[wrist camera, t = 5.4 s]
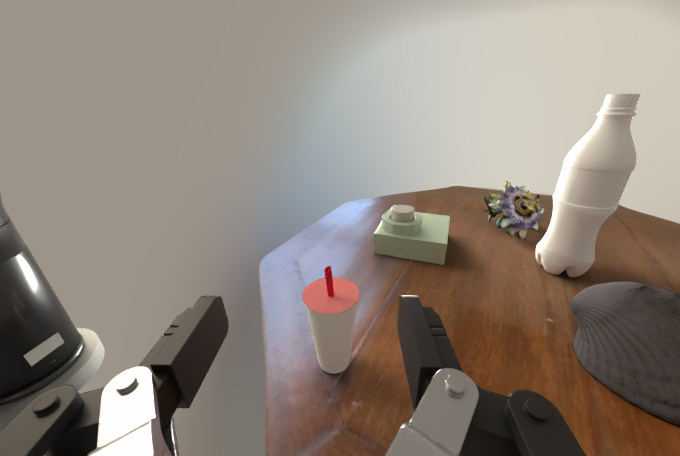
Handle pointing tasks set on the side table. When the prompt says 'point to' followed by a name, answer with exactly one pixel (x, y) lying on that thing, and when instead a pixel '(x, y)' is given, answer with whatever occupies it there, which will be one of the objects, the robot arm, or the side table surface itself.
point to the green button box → (413, 237)
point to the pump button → (402, 213)
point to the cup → (332, 319)
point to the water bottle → (589, 188)
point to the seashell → (632, 343)
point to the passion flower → (515, 210)
